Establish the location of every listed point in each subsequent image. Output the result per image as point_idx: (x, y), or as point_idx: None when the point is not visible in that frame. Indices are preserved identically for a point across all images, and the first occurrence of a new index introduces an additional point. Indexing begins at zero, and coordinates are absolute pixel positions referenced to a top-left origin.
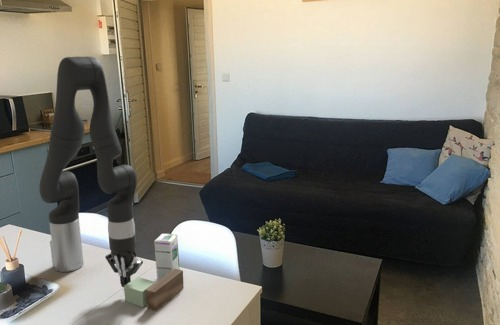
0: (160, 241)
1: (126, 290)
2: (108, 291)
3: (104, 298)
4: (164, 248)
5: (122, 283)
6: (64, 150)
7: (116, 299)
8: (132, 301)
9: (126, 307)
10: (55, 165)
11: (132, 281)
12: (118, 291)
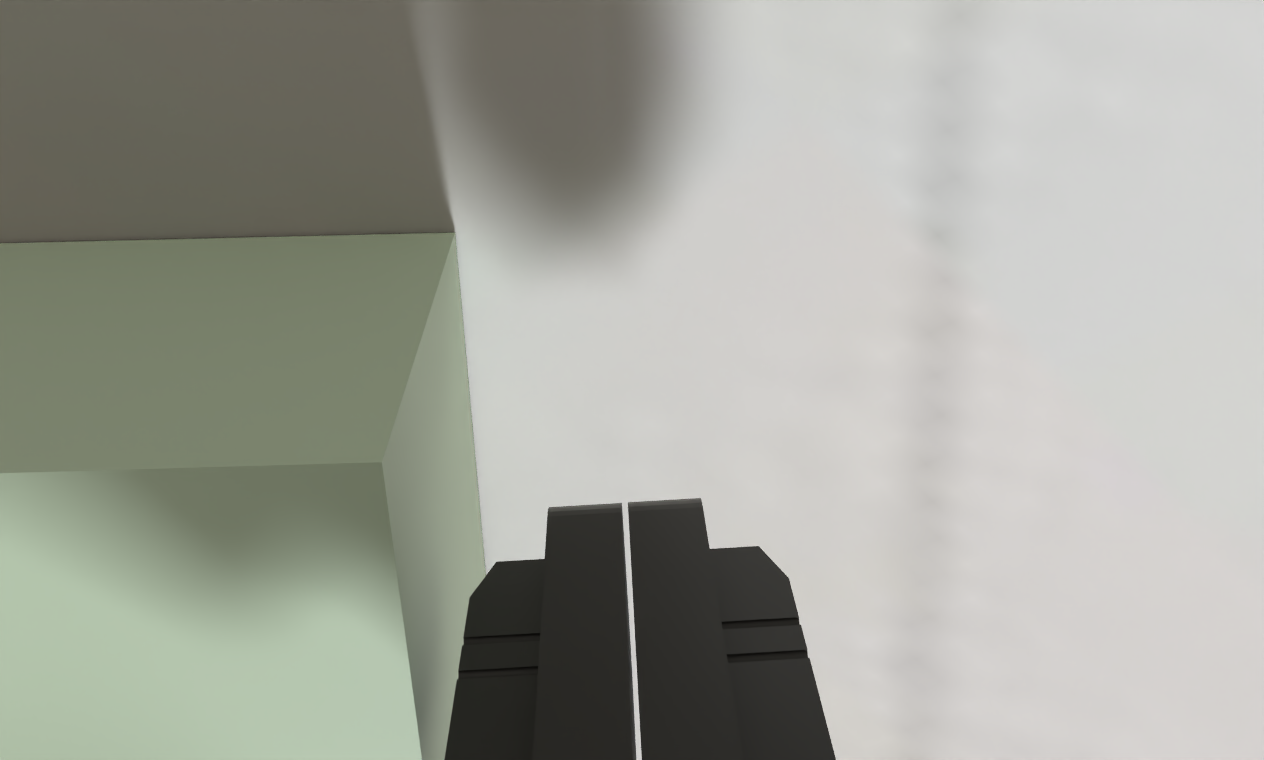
0: None
1: (301, 385)
2: (1154, 342)
3: (1045, 57)
4: None
5: (655, 573)
6: None
7: (711, 179)
8: (173, 261)
9: (171, 25)
10: None
11: None
12: (920, 450)
